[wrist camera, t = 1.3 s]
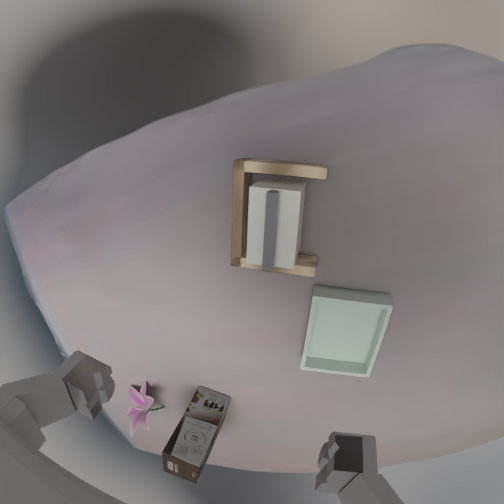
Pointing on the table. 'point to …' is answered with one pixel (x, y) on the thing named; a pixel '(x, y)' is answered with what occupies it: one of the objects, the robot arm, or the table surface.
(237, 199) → the bay
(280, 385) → the table surface
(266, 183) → the white block
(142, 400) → the lily
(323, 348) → the tray
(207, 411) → the coffee box
